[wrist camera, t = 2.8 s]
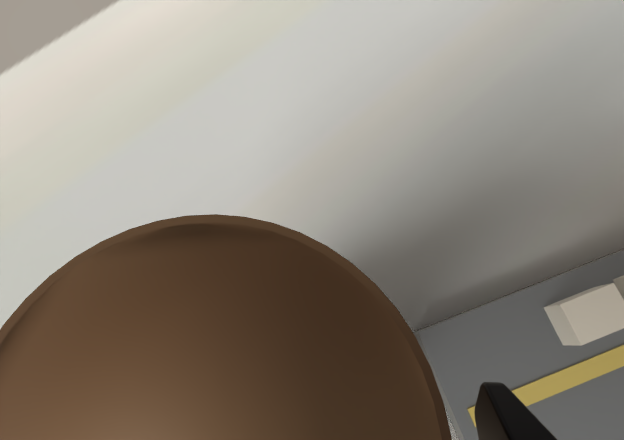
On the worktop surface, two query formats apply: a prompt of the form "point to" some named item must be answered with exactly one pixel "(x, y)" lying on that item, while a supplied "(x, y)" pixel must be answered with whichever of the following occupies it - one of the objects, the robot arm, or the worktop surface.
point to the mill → (213, 343)
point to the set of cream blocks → (589, 314)
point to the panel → (533, 359)
